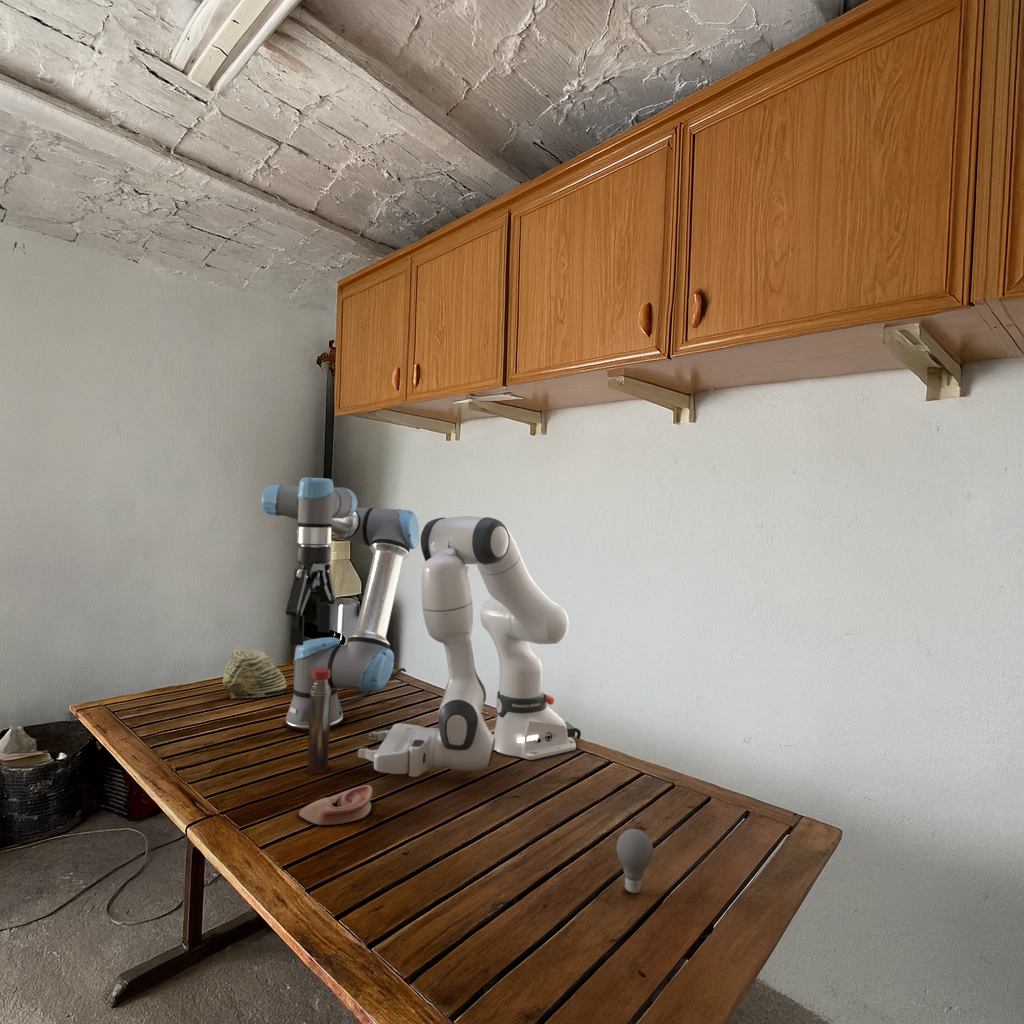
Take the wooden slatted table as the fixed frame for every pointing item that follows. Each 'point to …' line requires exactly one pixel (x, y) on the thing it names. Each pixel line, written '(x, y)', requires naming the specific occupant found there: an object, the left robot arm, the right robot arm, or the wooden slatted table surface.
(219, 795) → the wooden slatted table surface
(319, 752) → the bottle
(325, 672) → the cap
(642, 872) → the light bulb
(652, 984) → the wooden slatted table surface
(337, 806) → the anatomical model
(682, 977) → the wooden slatted table surface
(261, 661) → the fossil
